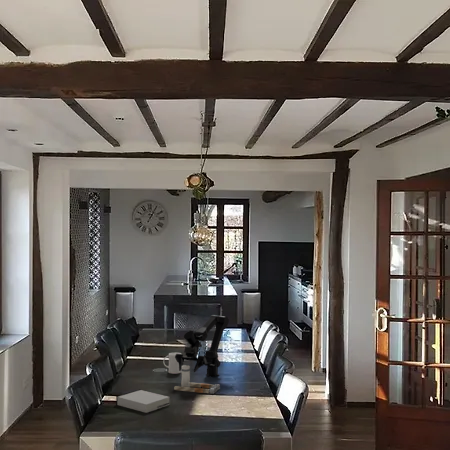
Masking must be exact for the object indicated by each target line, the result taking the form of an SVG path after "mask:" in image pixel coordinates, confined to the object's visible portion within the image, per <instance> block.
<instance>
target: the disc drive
mask: <svg viewBox="0 0 450 450" xmlns="http://www.w3.org/2000/svg"><path fill="white" fill-rule="evenodd" d="M115 401H116V402H115V403H116V406H120V407H123V408H127V409H131V410H135V411H138V412H142V413H147V414H148V413H149V412H153V411H156V410H158V409H161V408H164V407H168V406H169V405H170V396H167V395H163V394H159V393H155V392H150V391H146V390H142V389H136V390H133V391H129V392H126V393H123V394H120V395H116V397H115Z"/></svg>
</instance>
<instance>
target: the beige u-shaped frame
mask: <svg viewBox="0 0 450 450" xmlns="http://www.w3.org/2000/svg"><path fill="white" fill-rule="evenodd" d="M220 386H221V385H220V384H218V383H215V384H211V383H201V382H200V383H199V382H190V387H182V381H181V382H180V386H179V385H178V386H177V385H175V386H174V388H173V389H174V391H181V392H182V391H183V392H191V393H202V394H215V393H216V392H217V391H219V390H220ZM201 387H202V388H201Z"/></svg>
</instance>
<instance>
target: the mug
mask: <svg viewBox="0 0 450 450" xmlns="http://www.w3.org/2000/svg"><path fill="white" fill-rule="evenodd" d="M176 354H182V353H181V352H169V353H168V355H166V356H165V357H164V358H163V365H164V367H165V368H168V372H167V373H169V374H172V375H174V374H182V370H181V371H179V363H178V362H177V360H176V359H175V355H176ZM167 358H168V365H166V364H165V360H166V359H167Z"/></svg>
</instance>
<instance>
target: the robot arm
mask: <svg viewBox="0 0 450 450" xmlns="http://www.w3.org/2000/svg"><path fill="white" fill-rule="evenodd" d="M229 322H230V320H229V317H228V316H223V315H216V314H212V315H210V318H208V320H207V321H206V322H205V323H204V324H203V326H202V327H201V328H198V329H196V330H195V331H193V330H191V329H190V330H189V331H187V332H186V333H185V334H184V335H183V338H184V340H185V341H186V342H187V344H188V345H190V346H185V347H184V350H183V351H184V354H185V356H184V355H183V353H181V354H176V355H175V359H176V360H177V362H178V363H179V371H182V366H183V365H184V361H190V362H195V363H196V364H195V366H194V368H193V373H196V372H197V371H198V370H199V368H201V367H203V366H207V367H206V374H205V376H207V377H210V378H213V377H218V376H220V374H219V373H218V372H219V369H218V368H219V367H220V366H221V361H220V360H219V355H218V354H219V353H218V349H219V346H220V342H221V340H222V336H223V333H224V330H225V329H226V328H227V327H228V325H229ZM213 327H215V331H214V333H213V337H212V340H211V343H210V348H209V349H208V350H205V352H204V353H205V354H204V355H199V350H200V348H202V346H203V345H202V343H201V342H205V341H206V339H207V338H208V335H209V333H210V332H211V330H212V328H213Z"/></svg>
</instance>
